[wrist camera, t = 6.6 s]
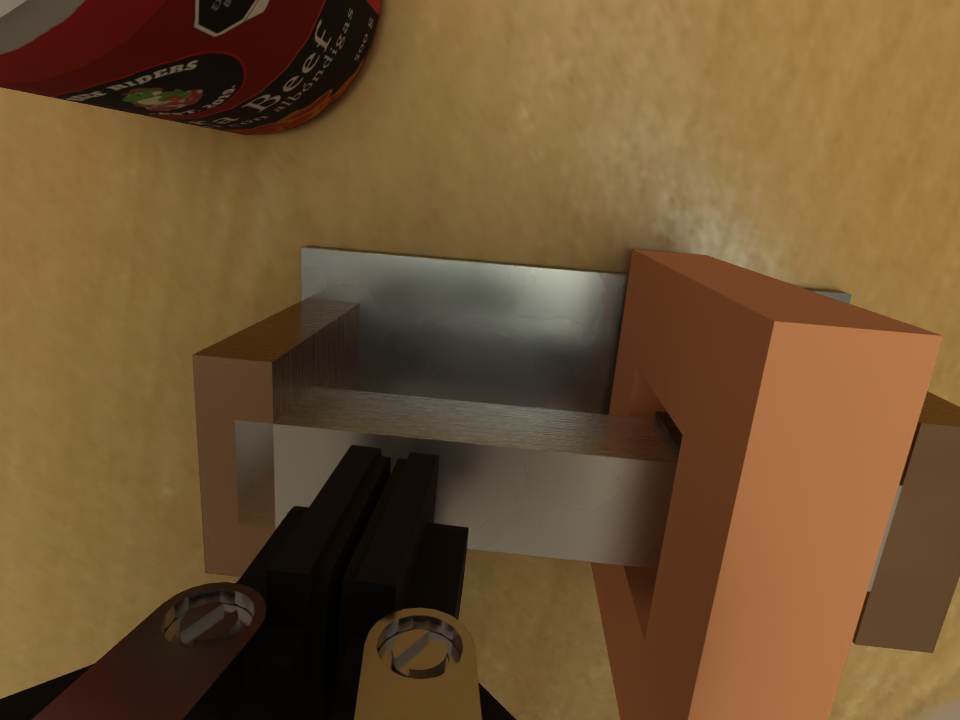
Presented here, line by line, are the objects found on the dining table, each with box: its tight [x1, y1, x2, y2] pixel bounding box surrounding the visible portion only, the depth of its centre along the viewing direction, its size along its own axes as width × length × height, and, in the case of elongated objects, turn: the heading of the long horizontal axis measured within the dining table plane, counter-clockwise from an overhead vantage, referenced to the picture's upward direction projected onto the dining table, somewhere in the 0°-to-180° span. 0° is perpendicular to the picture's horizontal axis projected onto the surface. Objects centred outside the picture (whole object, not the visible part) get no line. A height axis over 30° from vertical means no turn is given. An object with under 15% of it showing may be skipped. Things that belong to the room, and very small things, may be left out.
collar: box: [591, 249, 944, 720], centre depth 13 cm, size 2×10×10 cm, turn 176°
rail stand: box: [193, 246, 960, 653], centre depth 15 cm, size 16×8×7 cm, turn 86°
